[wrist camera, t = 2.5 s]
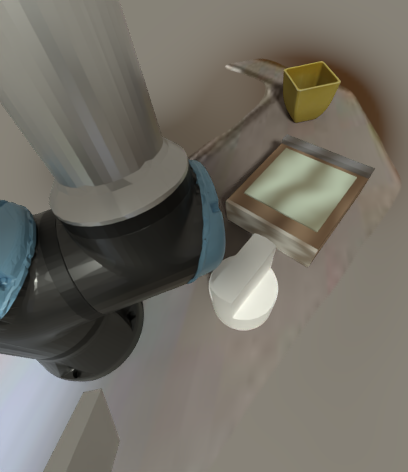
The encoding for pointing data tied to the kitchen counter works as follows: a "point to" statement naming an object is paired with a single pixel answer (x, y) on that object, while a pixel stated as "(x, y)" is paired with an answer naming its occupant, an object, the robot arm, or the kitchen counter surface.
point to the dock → (298, 197)
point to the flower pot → (308, 90)
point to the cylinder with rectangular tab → (245, 285)
